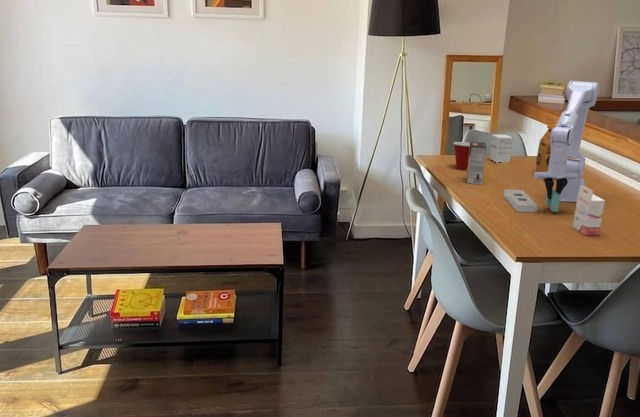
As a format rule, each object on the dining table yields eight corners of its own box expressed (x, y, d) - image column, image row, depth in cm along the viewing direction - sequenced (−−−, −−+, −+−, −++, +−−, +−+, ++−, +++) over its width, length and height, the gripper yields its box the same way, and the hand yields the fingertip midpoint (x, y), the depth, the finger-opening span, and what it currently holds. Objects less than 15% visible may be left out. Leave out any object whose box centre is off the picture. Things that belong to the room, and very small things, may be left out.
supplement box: (489, 160, 285) (491, 134, 281) (503, 159, 286) (506, 134, 282) (495, 163, 278) (498, 137, 274) (510, 163, 279) (513, 137, 275)
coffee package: (537, 178, 252) (544, 128, 245) (533, 171, 264) (539, 123, 257) (562, 180, 251) (569, 129, 244) (556, 173, 262) (563, 124, 255)
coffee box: (466, 178, 252) (469, 141, 247) (481, 179, 250) (485, 142, 245) (466, 183, 243) (470, 145, 238) (482, 184, 242) (486, 146, 237)
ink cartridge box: (600, 235, 186) (607, 191, 182) (585, 235, 186) (592, 191, 181) (586, 226, 195) (593, 183, 190) (571, 226, 194) (578, 183, 190)
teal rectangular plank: (550, 204, 213) (553, 188, 211) (558, 211, 205) (560, 195, 203) (545, 204, 213) (547, 188, 211) (552, 211, 205) (554, 194, 204)
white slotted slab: (521, 196, 227) (522, 190, 226) (536, 212, 208) (537, 205, 207) (503, 195, 227) (504, 189, 227) (516, 211, 208) (517, 205, 208)
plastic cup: (478, 168, 269) (481, 142, 266) (470, 172, 261) (473, 146, 257) (455, 164, 275) (458, 139, 271) (447, 169, 266) (449, 143, 262)
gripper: (540, 163, 200) (535, 201, 205) (583, 164, 200) (577, 202, 204) (534, 158, 207) (529, 195, 211) (576, 159, 206) (570, 196, 211)
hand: (552, 198), depth 208 cm, fingers closed on teal rectangular plank, 2 cm apart
